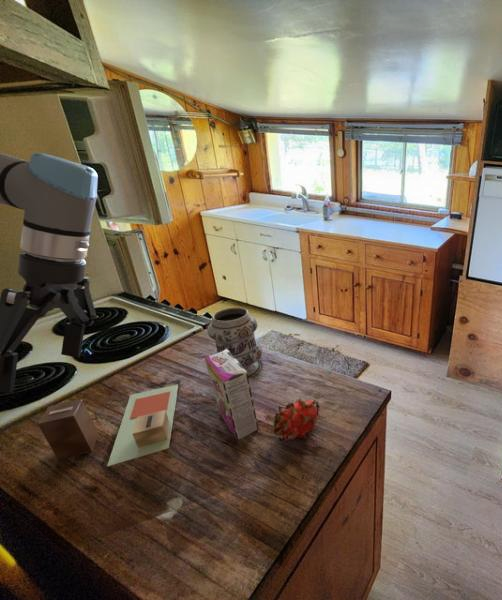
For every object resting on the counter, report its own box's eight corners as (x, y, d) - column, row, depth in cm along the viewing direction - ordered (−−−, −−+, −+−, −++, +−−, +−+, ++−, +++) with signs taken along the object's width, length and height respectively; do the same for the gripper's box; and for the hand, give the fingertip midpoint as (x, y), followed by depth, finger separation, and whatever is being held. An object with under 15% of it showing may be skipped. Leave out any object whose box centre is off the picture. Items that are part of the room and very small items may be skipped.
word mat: (107, 468, 62) (106, 466, 62) (130, 396, 80) (130, 394, 80) (169, 449, 67) (168, 447, 66) (178, 385, 84) (178, 383, 84)
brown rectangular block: (59, 462, 63) (37, 423, 59) (68, 443, 67) (48, 405, 63) (92, 453, 65) (73, 415, 61) (99, 435, 69) (82, 398, 65)
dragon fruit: (272, 454, 68) (315, 425, 78) (294, 451, 64) (337, 421, 73) (257, 416, 69) (302, 392, 79) (278, 410, 64) (323, 386, 74)
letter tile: (138, 448, 66) (131, 433, 64) (142, 430, 70) (136, 416, 68) (167, 439, 68) (162, 425, 67) (169, 423, 72) (165, 409, 71)
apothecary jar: (254, 353, 98) (244, 299, 91) (272, 371, 91) (263, 315, 83) (211, 369, 91) (197, 312, 83) (227, 391, 83) (213, 330, 75)
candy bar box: (218, 414, 76) (203, 356, 69) (239, 404, 79) (227, 347, 72) (236, 443, 69) (222, 381, 62) (259, 430, 72) (248, 370, 65)
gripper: (8, 273, 42) (-7, 415, 46) (128, 254, 66) (112, 348, 70) (-66, 256, 40) (-75, 405, 44) (85, 243, 64) (71, 340, 68)
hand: (39, 371), depth 57 cm, fingers open, 13 cm apart
